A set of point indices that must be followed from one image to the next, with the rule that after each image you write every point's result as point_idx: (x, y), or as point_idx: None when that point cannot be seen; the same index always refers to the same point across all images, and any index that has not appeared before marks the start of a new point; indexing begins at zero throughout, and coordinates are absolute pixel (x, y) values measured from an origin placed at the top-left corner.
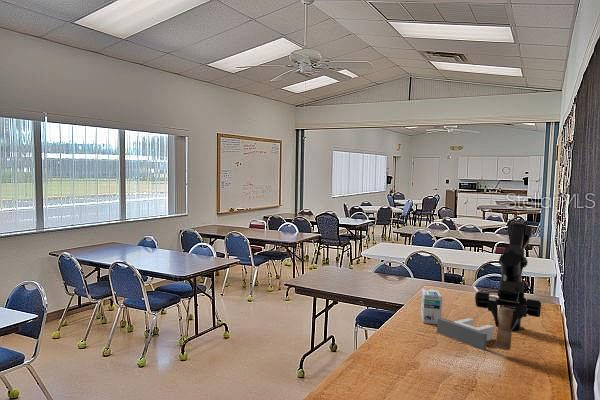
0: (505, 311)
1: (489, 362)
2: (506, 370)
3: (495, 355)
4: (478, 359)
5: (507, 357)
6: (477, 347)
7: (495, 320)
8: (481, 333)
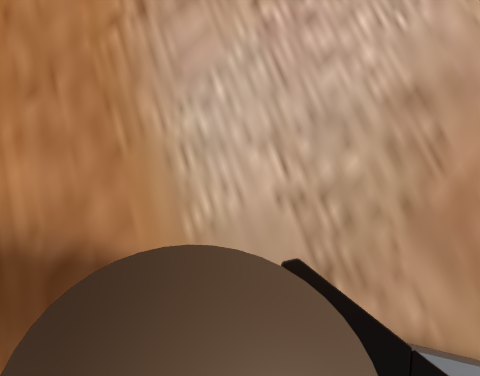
0: (151, 251)
1: (241, 139)
2: (130, 95)
3: None
4: (306, 135)
5: None
6: None
7: (330, 288)
8: (434, 357)
